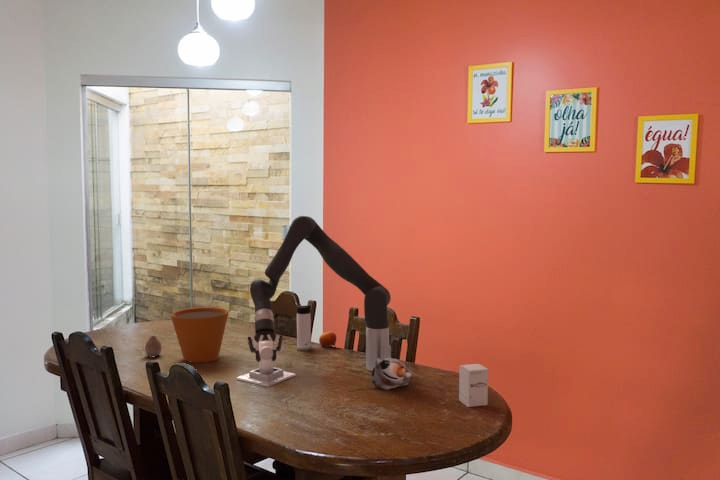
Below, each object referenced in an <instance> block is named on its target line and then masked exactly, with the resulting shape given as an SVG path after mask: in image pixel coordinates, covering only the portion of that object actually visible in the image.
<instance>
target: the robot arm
mask: <svg viewBox="0 0 720 480" xmlns="http://www.w3.org/2000/svg"><path fill="white" fill-rule="evenodd" d="M304 240H305V241H306V242H308V243H309V244H310V245H312V246H313V248H315V249H316V250H317V252H318V254H319V255H320V256H321V258H322V260H323V261H324V262H325V263H326V265H327V267H329V268H330V269H331V270H332V271H333V272H334V273H335V274H336V275H338V276H339V277H340V278H341V279H343V280H345V282H348V283H349V284H351V285H353V286H355V287H356V288H357V289H359V291H360V292H361V293H362V294H363V295H364V299H363V308H364V309H363V311H364V321H365V369H366V370H367V371H370V372H372V371H373V368H374V367H375V366H376V365H375V363H376V360H377V359H378V358H380V359H381V360H383V359H385V358H392V353H391V352H392V347H391V344H390V320H389V318H388V305H389V304H390V302H391V293H390V291H389V290H388V288H387V287H385V286H384V285H382V284H381V283H380V282H379V281H377V280H376V279H375V278H373V276H371V275H370V274H369V273H368V272H367V271H366V270H365V268H363V267H362V266H361V265H360V264H359V263H358V262H357V261H356V260H355V259H354V257H352V256H351V255H350V254H349V253H348V252H347V251H346V250H345V249H344V248H343V247H342V246H340V245H339V244H338V243H337V242H336V241H334V240H333V239H332V238H331V237H329V235H328V234H326V232H325V231H324V230H323V229H322V228H321V226H320V225H319V224H318V223H317V222H316V220H315V219H314V218H312V217H310V216H307V215H299V216H297V217H295V218H294V219H293V220H292V221H291V224H290V225H289V228H288V230H287V233H286V236H284V239H283V241H282V243H281V245H280V246H279V248H278V249H277V252H276V253H275V254H274V256H273V257H272V259H271V260H270V262H269V263H268V265H267V267H266V268H265V269H264V275H265V276H266V277H267V278H268V279H269V281H268V282H267V281H265V280H262V279H261V278H256V279H254V280H252V282H251V283H250V286H249V292H250V293H249V294H250V297H251V299H252V302H253V304H254V333H255V334H254V336H247V343H248V347H249V350H250V351H249V352H250V353H255V361H256V362H257V363H259V362H260V356H259V341H262V340H271V341H273V362H275V361H276V360H277V352H281V349H282V343H283V334H281V335H277V334H276V333H275V320H274V319H275V318H274V313H273V302H272V301H271V299H272V298H273V297H274V296H275V295H276V294H275V293H276V291H277V288H278V286H279V282H280V279H281V277H282V276H283V274H284V273H285V271H286V270H287V268H288V267H289V265H290V262H291V261H292V258H293V255H294V254H295V252H296V249H298V247H299V245H300V244H301V243H302V242H303V241H304ZM275 340H276V341H277V346H276V345H275ZM254 341H255V342H256V343H257V344H256V347H255V346H254V344H253V343H254Z"/></svg>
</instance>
